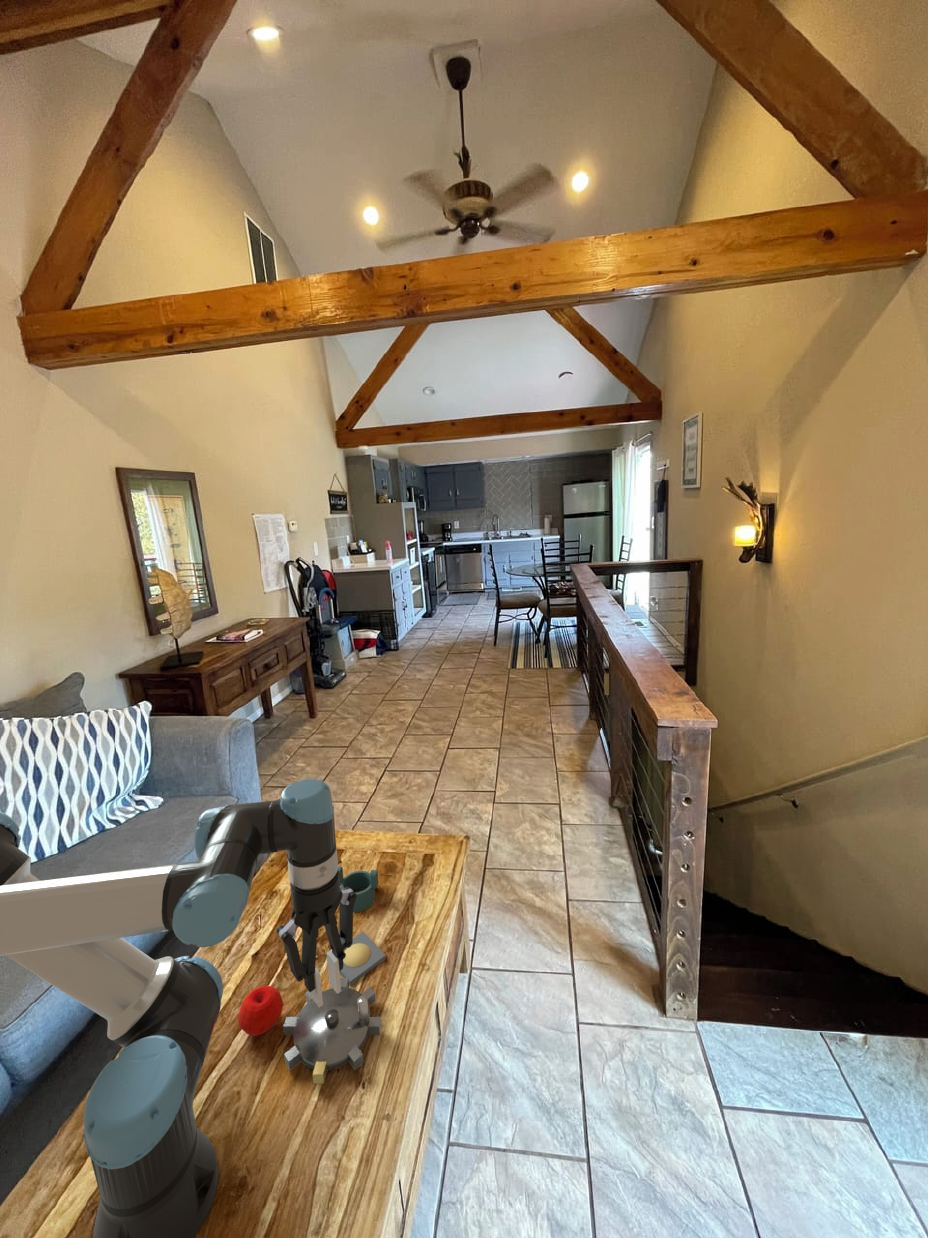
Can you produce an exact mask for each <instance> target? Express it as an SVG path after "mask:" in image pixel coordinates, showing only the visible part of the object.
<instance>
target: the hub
mask: <svg viewBox="0 0 928 1238" xmlns="http://www.w3.org/2000/svg"><path fill="white" fill-rule="evenodd" d="M338 1021H339V1016H338V1011H337V1010H336V1009H331V1010H329V1011H328V1012H327V1013H326V1015H325V1022H326V1025H327V1026H328V1027H333V1026H335V1025H336V1024H337V1023H338Z"/></svg>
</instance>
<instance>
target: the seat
mask: <svg viewBox="0 0 928 1238" xmlns="http://www.w3.org/2000/svg"><path fill="white" fill-rule="evenodd" d="M344 952H345V954H346V957H345V958H344V959H343V969H342V970H341V971H339V972H340V976H342V978H349V986H353V984H355V983H356V982H357V981H358V980H360V979H362V977H364V976H365V975H367V974H368V973H369V972H370V971H372V970H374V968H376V967H377V966H379V965H380V964H381V963H382V962H384V961H385V960H386V958H387V955H386V954H385V953H384V952H383V951H382V949H380V947H378V946H377V944H375V942H374V941H373V940H372V939H371V938H370V937H369V936H368V935H367V934H366V933H365V931H362V932H360V933H358V934H357V935H355V936H353V943H352V945H351V947H349V948H347V947H346V949H345V950H344Z"/></svg>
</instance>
